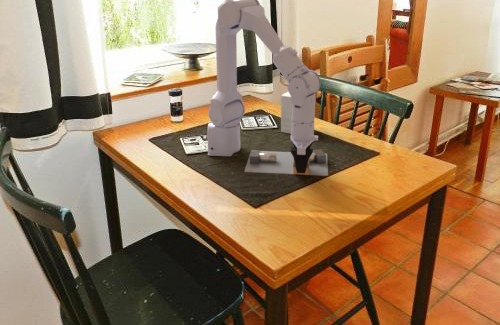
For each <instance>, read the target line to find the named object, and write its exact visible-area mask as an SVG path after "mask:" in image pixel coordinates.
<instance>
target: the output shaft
mask: <svg viewBox="0 0 500 325" xmlns="http://www.w3.org/2000/svg"><path fill="white" fill-rule="evenodd" d="M325 154H326V153H325V152H324V151H323V150H322V149H321V148H317V149H313V153H312V155H311V156H310V159H309V162H314V161H315V162H316V163H317V164H324V163H326V155H325Z"/></svg>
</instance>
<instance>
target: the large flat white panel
mask: <svg viewBox="0 0 500 325" xmlns="http://www.w3.org/2000/svg"><path fill="white" fill-rule="evenodd" d="M260 153H274V154H277V162H259V164H250V155H249V157H248V160H247V162H246V164H245V168H244V170H243V171H244V173H259V174H260V173H261V174H277V175H279V174H281V175H294V174H293V162H294V157H293V155H292V154H291V151H271V150H270V151H268V150H260ZM325 155H326V163H324V164H317V163H316V162H315V161H314V162H309V175H308V176H323V177H324V176H325V177H326V176H329V168H328V166H329V164H328V153H325ZM299 175H304V174H299ZM304 176H305V175H304Z"/></svg>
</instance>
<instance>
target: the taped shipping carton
mask: <svg viewBox="0 0 500 325" xmlns="http://www.w3.org/2000/svg"><path fill="white" fill-rule="evenodd" d="M309 159H310V158H309ZM300 174H304V176H310V175H309V160H308V163H307V168H306V171H305V173H297V171H296V166H295V161H294V162H293V174H292V175H300Z"/></svg>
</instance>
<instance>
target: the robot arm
mask: <svg viewBox="0 0 500 325" xmlns="http://www.w3.org/2000/svg"><path fill="white" fill-rule="evenodd" d="M265 13H266V12H265V8H264V7H263V6H262V4H261V3H260V1H259V0H224V1H223V2H221V4H219V6H217V19H216V23H215V51H216V53H215V54H216V55H215V56H216V60H215V61H216V87H217V90H216V92H215V93H214V94H213V96H212V97H211V98H210V106H209V108H208V117H209V120H210V122H208V124H207V130H206V131H207V132H206V137H207V138H206V141H207V156H210V157H211V156H213V157H233V155H234V153H237V152H239V151H240V150H241V125H240V124H241V122H242V117H244V115H245V112H246V107H245V104H244V99H243V94H241V93H240V92H239V91H238V79H237V78H238V75H237V74H238V70H237V69H238V68H237V67H238V66H237V60H238V58H237V49H238V48H237V35H238V33H239V32H240V31H241V30H242V29H243V30H247V31H252V32H254V34H255V35H256V36H257V37H258V39H260V41H261V42H262V44H263V45H265V46H266V48H267V49H268V50H269V51H270V52H271V54H272V63H273V64H274V66H275V67H276V68H277V70H278V71H279V72H280V74H281V75H282V77H283V78H284V79H285V81H286V82H287V83H288V85H287V87H286V88H287V92H289V94H290V95H291V102H292V126H291V134H290V138H289V139H290V141H291V143H292V146H290V150H289V152H291V154H292V155H293V157H294V161H295V166H296V171H297V173H305V171H306V168H307V163H308V160H309V158H310V156H311V155H312V153H313V150H314V148H311V147H312V145H313V144H314V141H316V142H317V141H319V135H317V134H316V135H315V117H316V95H317V94H316V93H317V92H318V91H319V90H320V88H321V79H320V76H319V75H318V73H317V71H315V70H313V69H309V67H307V65H305V63H304V62H303V61H302V59H301V58H300V57H299V56H298V52H297V50H296V49H293V48H292V46H286V45H285V44H284V43H283V41H282V40H281V39H280V37H279V36H278V33H277V32H276V31H275V29H274V27H273V26H272V24H271V23H270V21H269V19H268V18H267V16H266V14H265Z"/></svg>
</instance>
